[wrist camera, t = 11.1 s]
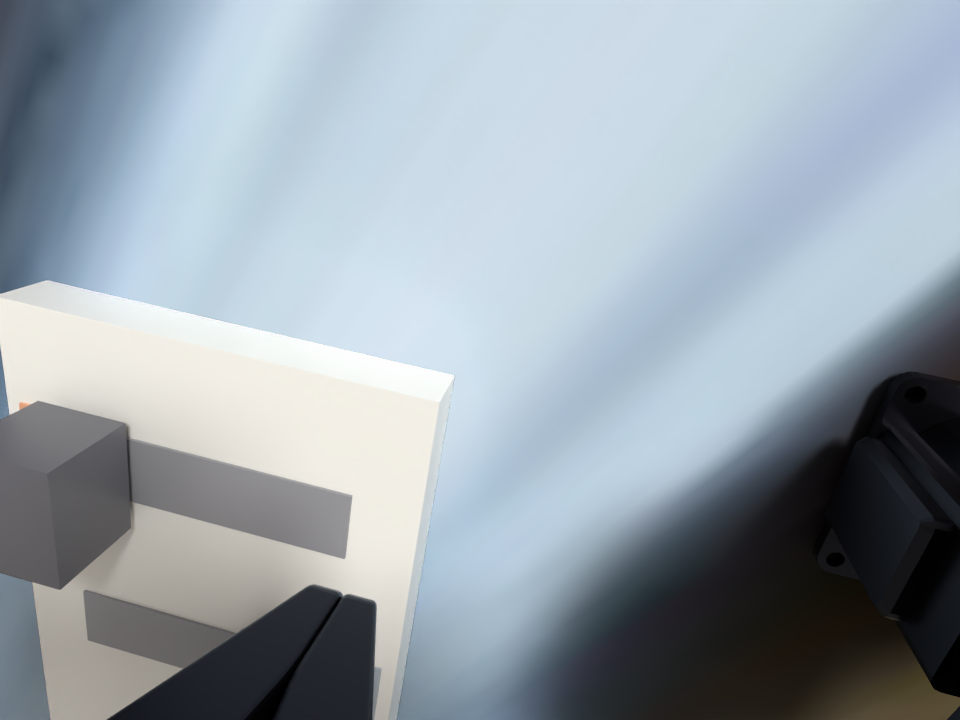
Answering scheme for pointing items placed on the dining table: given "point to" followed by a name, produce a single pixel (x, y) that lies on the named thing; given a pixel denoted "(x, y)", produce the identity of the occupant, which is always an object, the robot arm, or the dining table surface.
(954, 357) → the dining table surface
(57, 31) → the dining table surface
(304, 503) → the switch board
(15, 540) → the grey plastic block
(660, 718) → the dining table surface
